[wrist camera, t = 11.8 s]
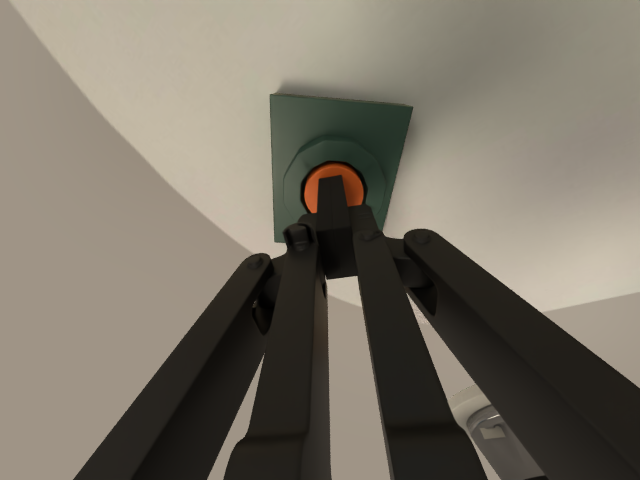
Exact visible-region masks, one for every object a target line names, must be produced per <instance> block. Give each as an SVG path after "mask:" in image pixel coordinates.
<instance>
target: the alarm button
mask: <svg viewBox="0 0 640 480" xmlns="http://www.w3.org/2000/svg"><path fill="white" fill-rule="evenodd" d="M336 175H342V179H343V184H344V190H345V195H346V200H347V206H348V207H349V206H355V205H361V203H362V201H363V195H364V191H363V186H362V183H361V180H360V177H359V175H358V173H357V171H356V170H355V169H354V167H352V166H351V165H350V164H348V163H347V162H342V161H329V160H328V161H326V162H324V163H322V164H319V165H317V166H315V167H314V168H313V169H312V170H311V171H310V173H309V175H308V177H307V181H306V186H305V192H304V198H305V202H306V205H307V207H308V209H309V210H310V211H311V213H316V212H317V197H318V180H319V179H320V178H325V177H331V176H336Z"/></svg>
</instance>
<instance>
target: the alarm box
mask: <svg viewBox="0 0 640 480" xmlns="http://www.w3.org/2000/svg"><path fill="white" fill-rule="evenodd" d="M412 110H413V107H412V106H408V105H405V104H397V103H386V102H374V101H363V100H351V99H340V98H328V97H317V96H306V95H294V94H283V93H274V94H270V118H271V149H272V180H273V211H274V242H279V243H286V242H285V239H284V236H283V233H282V232H283V230H284V229H285V228H286V227H288V226H289V225H291V224H294V223H297V222H298V219H299V218H300V217H301V216H302V215H304V214H310V213H311V211H310V210H309V209H308V207H307V205H306V202H305V198H304V192H305V186H306V181H307V177H308V175H309V173H310V171H311V170H312V169H313V168H314V167H315V166H317V165H319V164H322V163H324V162H326V161H328V160H329V161H342V162H347V163H348V164H350V165H351V166H352V167H354V169H355V170H356V171H357V173H358V175H359V177H360V180H361V183H362V186H363V191H364V195H363V201H362V203H361V204H367V205H368V206H370V207H371V209H372V212H373V215H374V218H375V220H376V223H377V226H378V228H379V230H381V231H382V230H383V226H384V222H385V218H386V214H387V210H388V206H389V202H390V198H391V194H392V190H393V186H394V182H395V178H396V174H397V170H398V166H399V162H400V158H401V154H402V150H403V146H404V142H405V138H406V134H407V130H408V126H409V122H410V118H411V114H412Z"/></svg>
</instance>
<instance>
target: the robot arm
mask: <svg viewBox="0 0 640 480" xmlns="http://www.w3.org/2000/svg"><path fill="white" fill-rule="evenodd" d="M282 233H283V236H284V239H285V242H286V245H287V252H286V253H285V254H284V255H282V256H279V257H277V258H274V259H271V258H270V256H269V255H268V254H265V253H259V254H254V255H251V256H250V257H248V258H246V259H245V260H244V261H243V262H242V263H241V264H240V266H239V267H238V268H237V269H236V271H235V272H234V273H233V275H232V276H231V277H230V279H229V280H228V281H227V282H226V284H225V285H224V286H223V288H222V289H221V290H220V291H219V293H218V294H217V295H216V296H215V298H214V299H213V300H212V302H211V303H210V304H209V305H208V307H207V308H206V309H205V311H204V312H203V313H202V314H201V316H200V317H199V318H198V320H197V321H196V322H195V323H194V325H193V326H192V327H191V329H190V330H189V331H188V333H187V334H186V335H185V336H184V338H183V339H182V340H181V341H180V343H179V344H178V345H177V347H176V348H175V349H174V350H173V352H172V353H171V354H170V356H169V357H168V358H167V359H166V361H165V362H164V363H163V365H162V366H161V367H160V368H159V370H158V371H157V372H156V374H155V375H154V376H153V378H152V379H151V380H150V381H149V383H148V384H147V385H146V386H145V388H144V389H143V390H142V392H141V393H140V394H139V395H138V397H137V398H136V399H135V401H134V402H133V403H132V404H131V406H130V407H129V408H128V410H127V411H126V412H125V413H124V415H123V416H122V417H121V419H120V420H119V421H118V422H117V424H116V425H115V426H114V428H113V429H112V431H111V432H110V433H109V434H108V435H107V437H106V438H105V439H104V441H103V442H102V443H101V444H100V446H99V447H98V448H97V449H96V451H95V452H94V453H93V455H92V456H91V457H90V458H89V460H88V461H87V462H86V464H85V465H84V466H83V468H82V469H81V470H80V471H79V473H78V474H77V475H76V477H75V478H74V479H73V480H207V478H208V476H209V474H210V472H211V470H212V467H213V465H214V463H215V461H216V459H217V456H218V454H219V452H220V450H221V447H222V445H223V443H224V441H225V439H226V437H227V434H228V432H229V430H230V428H231V426H232V423H233V421H234V419H235V417H236V414H237V412H238V410H239V408H240V406H241V404H242V401H243V399H244V397H245V395H246V393H247V390H248V388H249V386H250V384H251V382H252V380H253V377H254V375H255V373H256V371H257V369H258V366H259V364H260V362H261V360H262V357H263V355H264V359H263V364H262V368H261V373H260V378H259V382H258V387H257V392H256V397H255V401H254V406H253V410H252V415H251V420H250V424H249V428H248V431H247V433H246V435H245V437H244V438H243V439H241V440H240V441H239V442H238V443H237V444H236V445H235V447H234V449H233V451H232V453H231V455H230V459H229V461H228V465H227V468H226V472H225V476H224V479H223V480H332V479H331V465H330V415H329V414H330V412H329V359H328V358H329V357H328V306H327V305H328V304H327V284H326V280H325V275H326V279H327V280H328V279H336V278H344V277H351V276H358V283H359V290H360V295H361V302H362V308H363V314H364V320H365V326H366V332H367V338H368V344H369V350H370V356H371V362H372V368H373V374H374V381H375V386H376V393H377V399H378V405H379V411H380V417H381V423H382V429H383V435H384V440H385V447H386V453H387V460H388V466H389V472H390V479H391V480H488V479H487V476H486V474H485V472H484V469H483V467H482V464H481V462H480V459H479V457H478V455H477V452H476V450H475V448H474V446H473V444H472V441H471V440H470V438H469V436H468V435H467V433H466V431H465V430H464V429H463V428H462V427H461V426H459V425H458V424H457V422H456V420H455V418H454V416H453V414H452V412H451V409H450V406H449V404H448V401H447V398H446V396H445V393H444V391H443V388H442V385H441V383H440V380H439V378H438V375H437V372H436V370H435V367H434V364H433V362H432V359H431V357H430V354H429V351H428V349H427V346H426V343H425V341H424V338H423V336H422V333H421V330H420V328H419V325H418V322H417V320H416V317H415V315H414V312H413V309H412V307H411V304H410V301H409V299H408V296H407V294H408V295H409V296H410V298H411V299H412V300H413V302H414V303H415V304H416V305H417V307H418V308H419V309H420V311H421V312H422V313H423V315H424V316H425V317H426V319H427V320H428V321H429V323H430V324H431V325H432V327H433V328H434V329H435V330H436V332H437V333H438V334H439V336H440V337H441V338H442V340H443V341H444V342H445V344H446V345H447V346H448V348H449V349H450V350H451V352H452V353H453V354H454V355H455V357H456V358H457V359H458V361H459V362H460V363H461V365H462V366H463V367H464V368H465V370H466V371H467V372H468V374H469V375H470V376H471V378H472V379H473V380H474V381H475V383H476V384H477V386H478V387H479V388H480V390H481V391H482V392H483V394H484V395H485V396H486V398H487V399H488V400H489V402H490V403H491V404H490V405H487V406H485V407H483V408H481V409H479V410H477V411H476V412H474V413H473V414H472V415H471V416H470V417H469V418H468V420H467V422H466V425H467V428H468V430H469V433H470V435H471V438H472V439H473V441H474V442H475V444H476V445H477V446H478V448H479V449H480V451H481V452H482V453H483V455H484V456H485V457H486V459H487V460H488V462H489V463H490V465H491V466H492V467H493V469H494V470H495V472H496V473H497V474H498V476H499V477H500V479H501V480H640V388H638V387H637V386H636V385H635V384H634V383H632V382H631V381H630V380H628V379H627V378H626V377H624V376H623V375H622V374H620V373H619V372H618V371H617V370H615V369H614V368H613V367H611V366H610V365H609V364H607V363H606V362H605V361H603V360H602V359H601V358H599V357H598V356H597V355H595V354H594V353H593V352H592V351H590V350H589V349H587V348H586V347H585V346H584V345H583V344H581V343H580V342H579V341H577V340H576V339H575V338H573V337H572V336H571V335H569V334H568V333H567V332H566V331H564V330H563V329H562V328H560V327H559V326H558V325H556V324H555V323H554V322H552V321H551V320H550V319H549V318H547V317H546V316H545V315H543V314H542V313H541V312H539V311H538V310H537V309H535V308H534V307H533V306H532V305H530V304H529V303H528V302H526V301H525V300H524V299H522V298H521V297H520V296H518V295H517V294H516V293H515V292H513V291H512V290H511V289H509V288H508V287H507V286H505V285H504V284H503V283H501V282H500V281H499V280H498V279H496V278H495V277H494V276H492V275H491V274H490V273H488V272H487V271H486V270H484V269H483V268H482V267H481V266H479V265H478V264H477V263H475V262H474V261H473V260H471V259H470V258H469V257H467V256H466V255H465V254H464V253H462V252H461V251H460V250H458V249H457V248H456V247H454V246H453V245H452V244H450V243H449V242H448V241H447V240H445V239H444V238H443V237H441V236H440V235H439V234H437V233H436V232H434V231H432V230H428V229H414V230H411V231H409V232H407V233H406V234H405V235H404V239H395V238H389V237H386V236H384V233H383V232H382V231H381V230H379V228H378V226H377V223H376V220H375V218H374V215H373V212H372V209H371V207H370V206H368V205H367V204H361V205H355V206H349V207H348V206H347V200H346V195H345V190H344V184H343V179H342V175H336V176H331V177H325V178H320V179H319V180H318V197H317V212H316V213H310V214H304V215H302V216H301V217H300V218H299V219H298V222H297V223H294V224H291V225H289V226H288V227H286V228H285V229H284V230H283V232H282ZM406 292H407V294H406ZM254 302H255V303H254ZM253 304H254V305H253ZM264 353H265V354H264Z"/></svg>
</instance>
